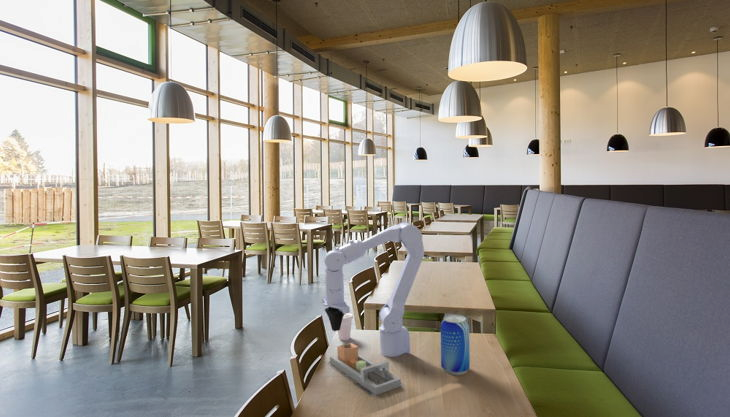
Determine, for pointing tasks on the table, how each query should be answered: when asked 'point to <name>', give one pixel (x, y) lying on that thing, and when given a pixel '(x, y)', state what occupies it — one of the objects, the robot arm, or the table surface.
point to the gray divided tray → (387, 383)
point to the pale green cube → (360, 366)
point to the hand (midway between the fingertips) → (336, 330)
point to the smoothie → (345, 327)
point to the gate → (366, 370)
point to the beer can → (455, 345)
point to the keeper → (348, 354)
